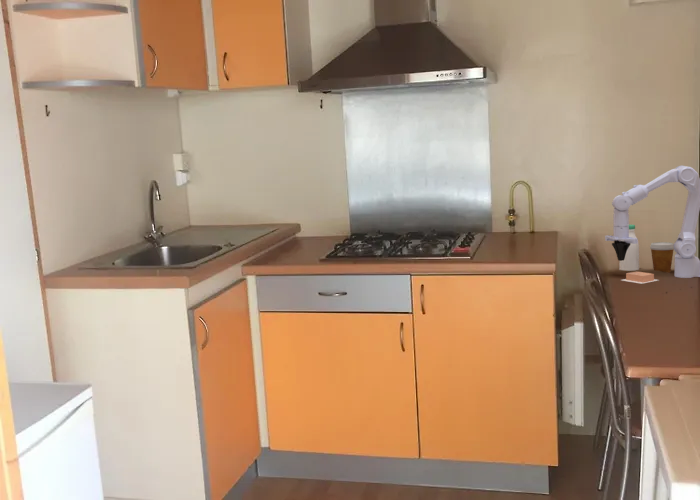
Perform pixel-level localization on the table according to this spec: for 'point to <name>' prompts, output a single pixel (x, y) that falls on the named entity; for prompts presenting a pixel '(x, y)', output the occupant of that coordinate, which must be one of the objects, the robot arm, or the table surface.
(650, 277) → the terracotta tile
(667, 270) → the disposable coffee cup
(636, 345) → the table surface
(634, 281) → the white riser
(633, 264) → the milk bottle
